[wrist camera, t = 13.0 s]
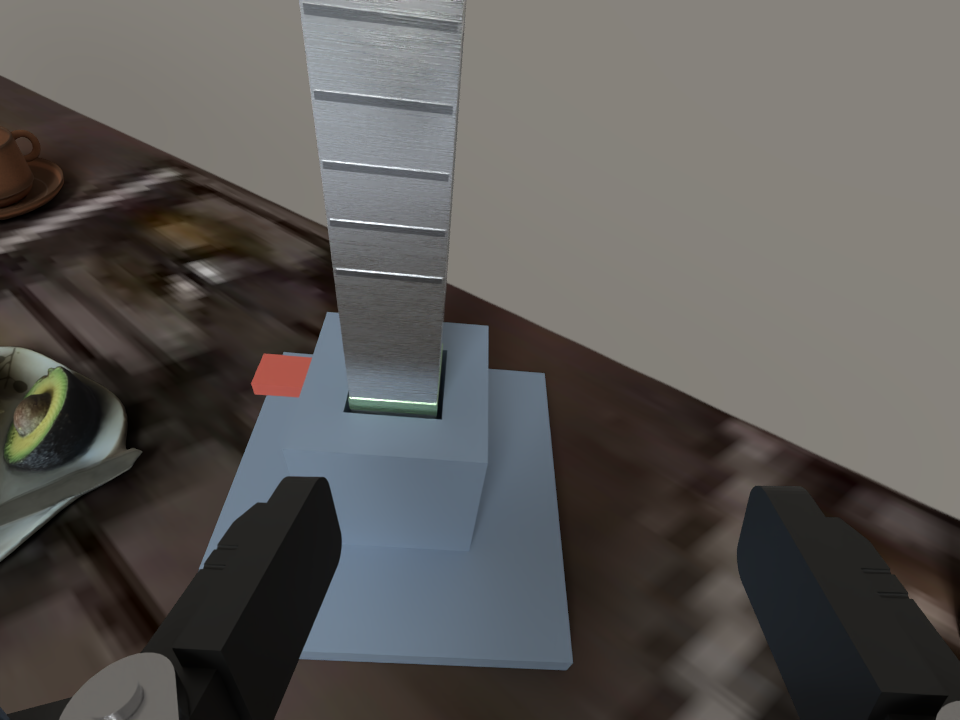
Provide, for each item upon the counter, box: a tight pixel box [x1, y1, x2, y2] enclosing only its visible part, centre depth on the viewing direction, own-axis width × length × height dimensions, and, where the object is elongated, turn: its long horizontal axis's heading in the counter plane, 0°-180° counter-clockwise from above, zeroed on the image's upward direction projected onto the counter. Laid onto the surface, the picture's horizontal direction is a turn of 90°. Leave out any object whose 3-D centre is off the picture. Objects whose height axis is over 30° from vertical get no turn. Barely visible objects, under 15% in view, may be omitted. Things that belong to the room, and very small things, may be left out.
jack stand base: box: [199, 312, 573, 670], centre depth 30 cm, size 20×20×11 cm
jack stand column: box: [299, 0, 466, 419], centre depth 20 cm, size 5×4×21 cm
